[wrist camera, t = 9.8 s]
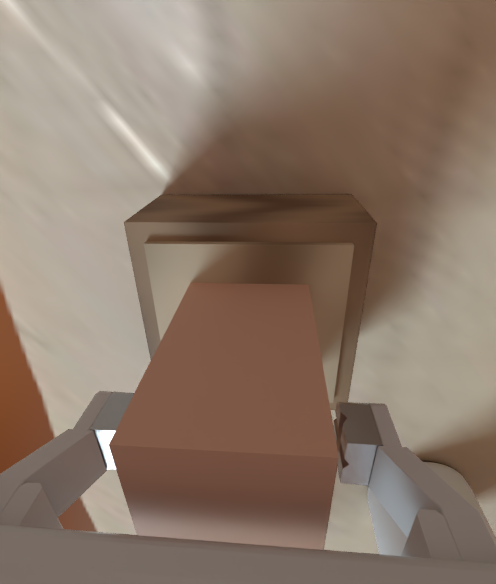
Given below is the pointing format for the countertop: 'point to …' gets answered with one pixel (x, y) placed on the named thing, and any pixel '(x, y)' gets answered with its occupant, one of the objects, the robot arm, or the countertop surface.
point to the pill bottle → (388, 530)
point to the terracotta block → (232, 423)
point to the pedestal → (259, 260)
